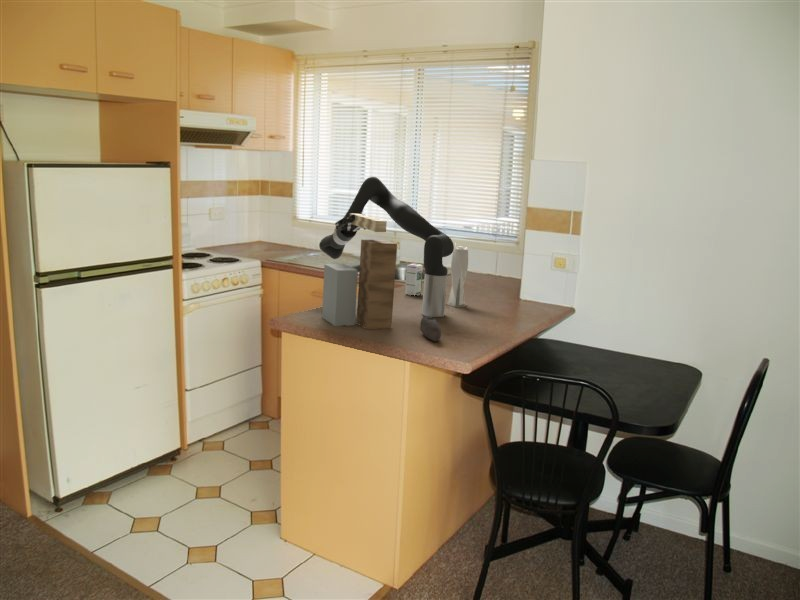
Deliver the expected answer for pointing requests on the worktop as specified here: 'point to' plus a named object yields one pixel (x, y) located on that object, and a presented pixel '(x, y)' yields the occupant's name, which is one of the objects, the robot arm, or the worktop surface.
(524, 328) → the worktop surface
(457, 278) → the skyscraper
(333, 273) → the grey block
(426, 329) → the perforated stone tool
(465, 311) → the worktop surface
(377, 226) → the birch beam
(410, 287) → the syrup box
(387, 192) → the robot arm
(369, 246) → the tall wooden tower
